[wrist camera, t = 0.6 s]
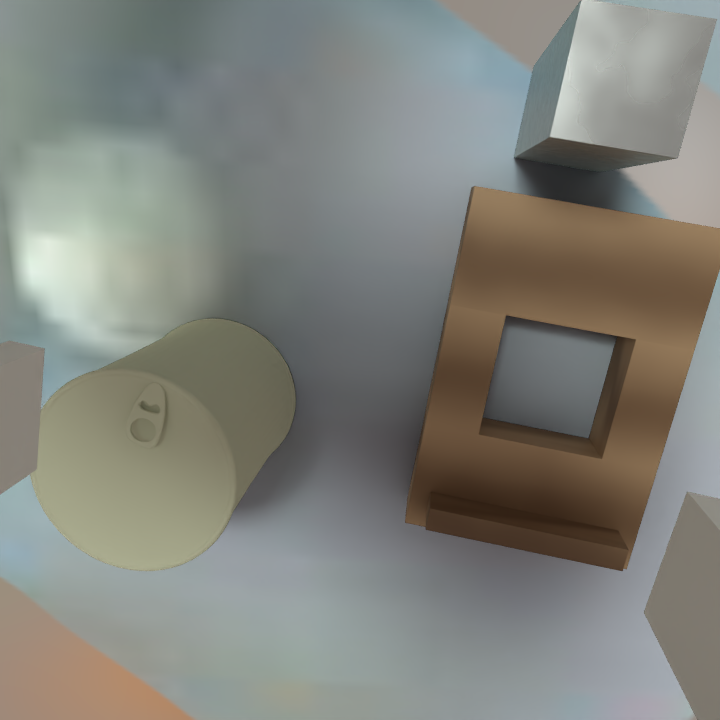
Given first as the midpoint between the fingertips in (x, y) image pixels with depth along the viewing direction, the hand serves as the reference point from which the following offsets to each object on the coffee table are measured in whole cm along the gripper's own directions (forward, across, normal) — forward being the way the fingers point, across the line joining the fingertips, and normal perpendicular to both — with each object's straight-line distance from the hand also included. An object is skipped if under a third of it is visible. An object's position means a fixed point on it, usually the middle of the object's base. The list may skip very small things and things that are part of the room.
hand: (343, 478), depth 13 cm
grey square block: (+24, +6, +11) cm, 27 cm away
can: (+24, -9, -8) cm, 26 cm away
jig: (+23, +8, -2) cm, 25 cm away
